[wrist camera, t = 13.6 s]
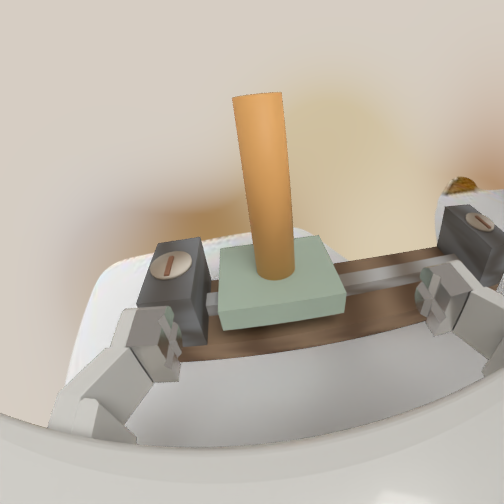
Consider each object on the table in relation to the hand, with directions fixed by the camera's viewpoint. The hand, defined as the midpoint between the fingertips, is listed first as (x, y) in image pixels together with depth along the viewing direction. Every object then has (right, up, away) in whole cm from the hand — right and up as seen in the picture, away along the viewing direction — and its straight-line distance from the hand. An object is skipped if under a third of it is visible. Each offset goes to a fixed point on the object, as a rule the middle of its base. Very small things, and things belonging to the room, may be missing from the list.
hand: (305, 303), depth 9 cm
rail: (+7, -3, +17) cm, 19 cm away
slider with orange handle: (0, -1, +15) cm, 15 cm away
